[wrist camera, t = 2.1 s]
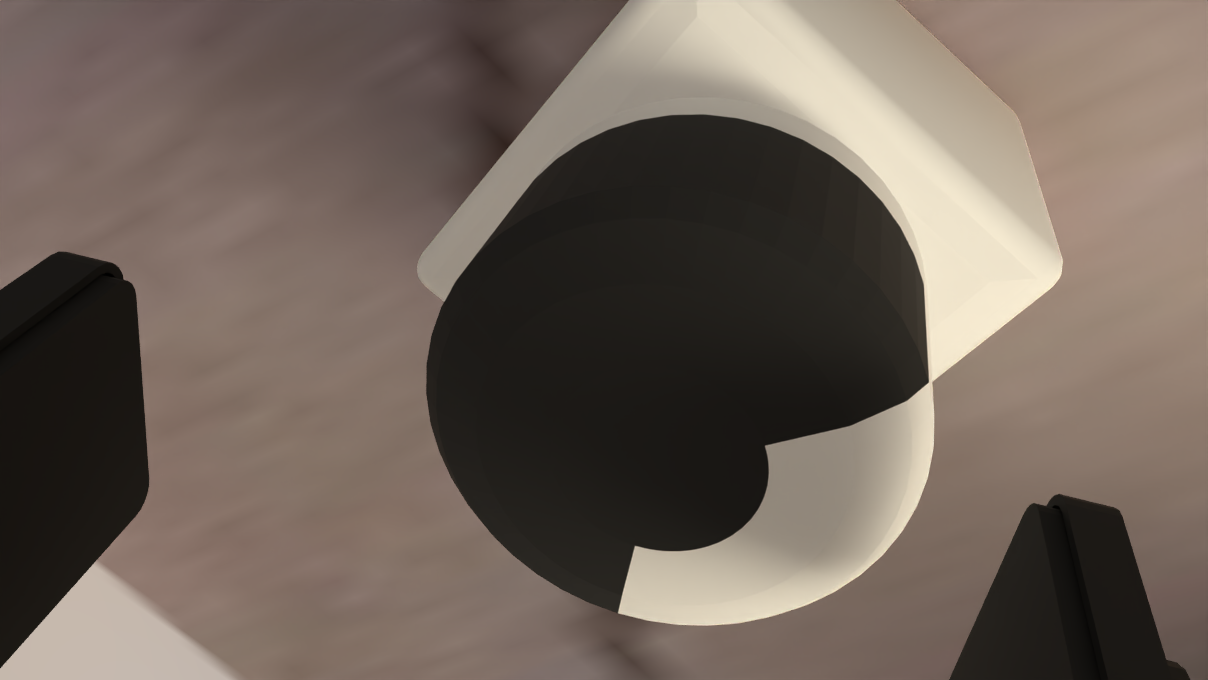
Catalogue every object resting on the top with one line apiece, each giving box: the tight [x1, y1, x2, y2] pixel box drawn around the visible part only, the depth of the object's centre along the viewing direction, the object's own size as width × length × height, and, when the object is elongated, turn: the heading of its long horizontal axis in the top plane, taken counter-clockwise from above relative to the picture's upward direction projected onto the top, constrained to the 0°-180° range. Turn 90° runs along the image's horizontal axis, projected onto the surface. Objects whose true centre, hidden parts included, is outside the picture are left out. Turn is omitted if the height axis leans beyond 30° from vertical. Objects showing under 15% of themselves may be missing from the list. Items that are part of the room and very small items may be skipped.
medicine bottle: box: [417, 0, 1063, 626], centre depth 18 cm, size 7×7×12 cm
